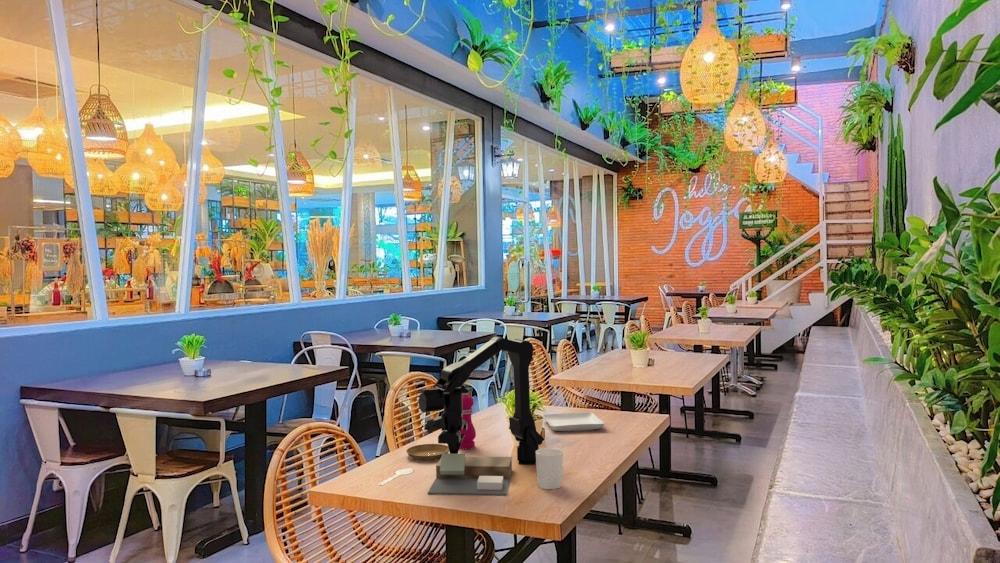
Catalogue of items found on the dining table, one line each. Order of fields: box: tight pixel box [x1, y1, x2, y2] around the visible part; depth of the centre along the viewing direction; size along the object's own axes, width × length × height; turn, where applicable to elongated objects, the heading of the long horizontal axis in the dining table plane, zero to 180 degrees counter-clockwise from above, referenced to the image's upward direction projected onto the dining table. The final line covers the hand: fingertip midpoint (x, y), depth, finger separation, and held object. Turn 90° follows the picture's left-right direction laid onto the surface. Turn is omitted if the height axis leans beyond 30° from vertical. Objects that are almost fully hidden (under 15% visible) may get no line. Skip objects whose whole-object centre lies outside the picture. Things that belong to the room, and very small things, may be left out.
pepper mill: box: [459, 393, 477, 450], centre depth 240 cm, size 7×7×20 cm
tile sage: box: [440, 453, 467, 475], centre depth 204 cm, size 7×6×2 cm
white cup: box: [535, 447, 564, 490], centre depth 197 cm, size 8×8×10 cm
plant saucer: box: [406, 443, 450, 462], centre depth 230 cm, size 15×15×3 cm
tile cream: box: [477, 476, 503, 490], centre depth 196 cm, size 7×6×2 cm
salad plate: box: [541, 412, 605, 432], centre depth 269 cm, size 21×21×3 cm
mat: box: [427, 477, 510, 496], centre depth 197 cm, size 22×13×1 cm, turn 85°
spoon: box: [378, 467, 415, 486], centre depth 208 cm, size 5×18×1 cm, turn 156°
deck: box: [435, 456, 513, 481], centre depth 209 cm, size 22×10×4 cm, turn 85°
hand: (453, 459), depth 208 cm, fingers closed
